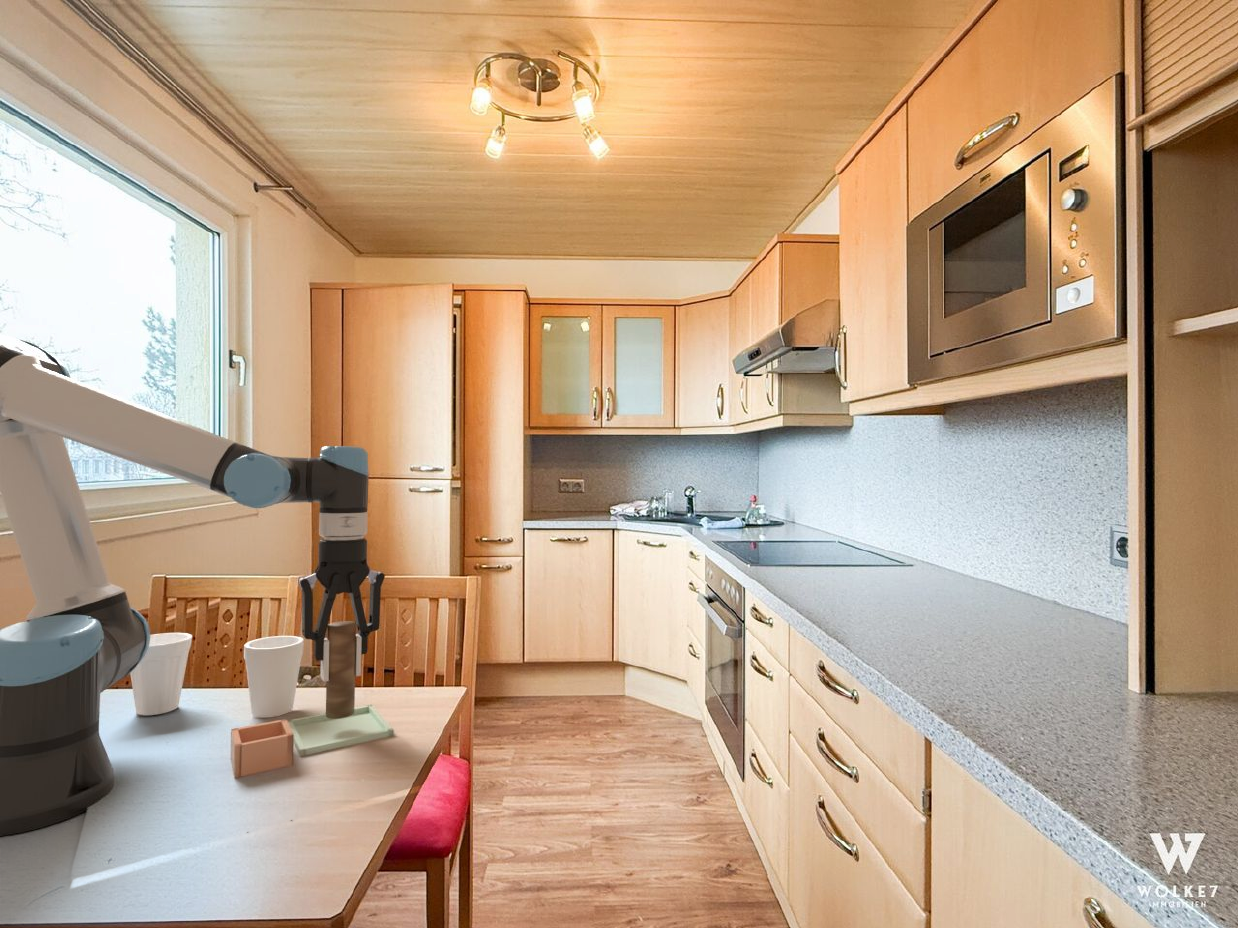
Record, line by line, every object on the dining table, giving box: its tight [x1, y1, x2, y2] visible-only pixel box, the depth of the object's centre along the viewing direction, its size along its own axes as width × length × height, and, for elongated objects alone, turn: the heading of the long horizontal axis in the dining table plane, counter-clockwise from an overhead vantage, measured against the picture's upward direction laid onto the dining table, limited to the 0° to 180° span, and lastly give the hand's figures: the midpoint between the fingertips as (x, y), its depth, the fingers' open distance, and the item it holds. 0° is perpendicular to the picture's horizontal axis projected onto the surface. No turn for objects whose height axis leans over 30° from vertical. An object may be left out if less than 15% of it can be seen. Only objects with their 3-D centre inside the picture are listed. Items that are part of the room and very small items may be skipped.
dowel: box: [325, 620, 357, 719], centre depth 106 cm, size 4×4×15 cm
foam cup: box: [243, 635, 305, 719], centre depth 115 cm, size 10×9×13 cm
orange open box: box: [230, 718, 294, 779], centre depth 94 cm, size 7×7×5 cm
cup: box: [129, 632, 193, 716], centre depth 115 cm, size 10×10×13 cm
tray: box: [287, 704, 395, 757], centre depth 106 cm, size 14×14×2 cm
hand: (340, 676), depth 106 cm, fingers closed on dowel, 4 cm apart
